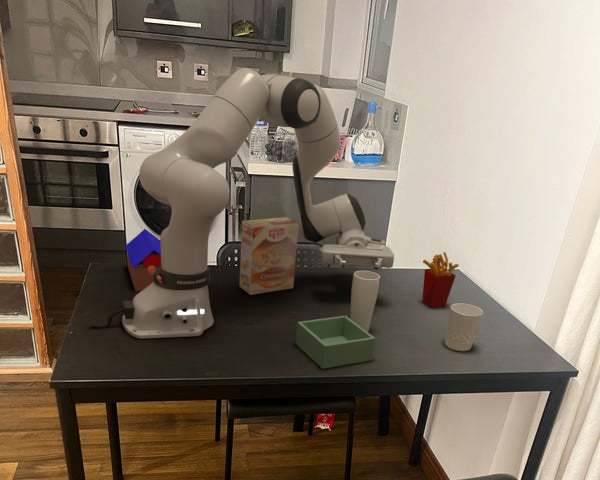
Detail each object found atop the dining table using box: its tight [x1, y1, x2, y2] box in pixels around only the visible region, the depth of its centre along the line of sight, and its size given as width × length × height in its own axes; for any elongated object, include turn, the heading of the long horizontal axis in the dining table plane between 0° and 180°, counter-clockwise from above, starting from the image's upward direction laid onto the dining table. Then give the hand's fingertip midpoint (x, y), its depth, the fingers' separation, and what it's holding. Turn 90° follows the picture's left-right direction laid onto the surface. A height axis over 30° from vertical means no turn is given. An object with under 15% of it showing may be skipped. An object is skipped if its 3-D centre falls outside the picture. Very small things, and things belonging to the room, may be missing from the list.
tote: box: [295, 315, 377, 370], centre depth 143 cm, size 14×14×6 cm
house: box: [125, 228, 161, 292], centre depth 173 cm, size 12×20×12 cm, turn 19°
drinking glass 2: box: [349, 270, 381, 333], centre depth 153 cm, size 7×7×15 cm
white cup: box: [444, 302, 484, 352], centre depth 151 cm, size 8×8×10 cm
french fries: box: [421, 251, 460, 309], centre depth 173 cm, size 9×8×15 cm
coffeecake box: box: [239, 216, 300, 296], centre depth 172 cm, size 15×7×20 cm, turn 123°
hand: (360, 265), depth 160 cm, fingers open, 8 cm apart
